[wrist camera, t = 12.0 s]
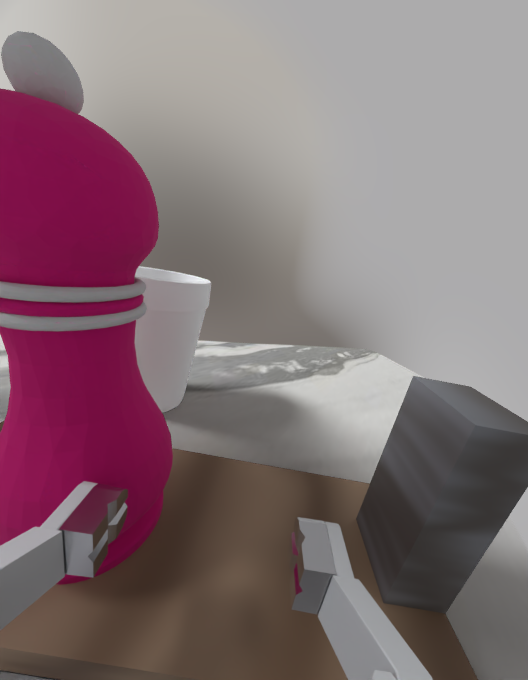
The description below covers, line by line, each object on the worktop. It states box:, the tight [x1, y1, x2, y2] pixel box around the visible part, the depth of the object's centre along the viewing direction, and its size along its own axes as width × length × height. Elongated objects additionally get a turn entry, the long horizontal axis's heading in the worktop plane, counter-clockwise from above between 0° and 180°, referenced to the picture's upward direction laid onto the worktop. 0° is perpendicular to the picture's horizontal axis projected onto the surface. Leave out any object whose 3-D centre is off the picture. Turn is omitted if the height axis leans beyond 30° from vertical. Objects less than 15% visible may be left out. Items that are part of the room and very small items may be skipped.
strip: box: [0, 376, 528, 680], centre depth 12 cm, size 28×10×12 cm, turn 88°
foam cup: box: [135, 266, 211, 413], centre depth 24 cm, size 10×9×13 cm
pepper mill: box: [0, 31, 173, 585], centre depth 10 cm, size 7×7×20 cm
